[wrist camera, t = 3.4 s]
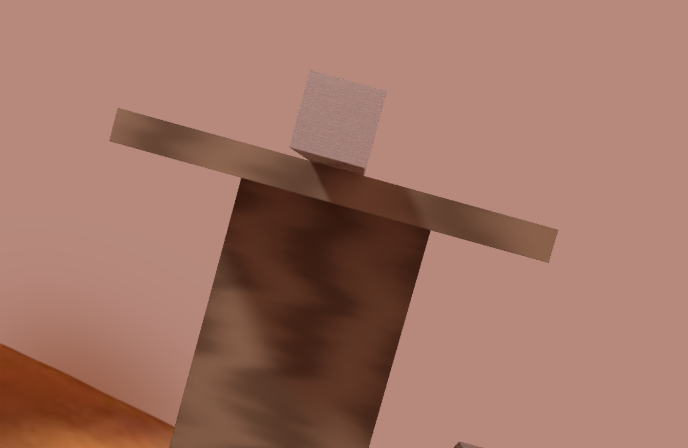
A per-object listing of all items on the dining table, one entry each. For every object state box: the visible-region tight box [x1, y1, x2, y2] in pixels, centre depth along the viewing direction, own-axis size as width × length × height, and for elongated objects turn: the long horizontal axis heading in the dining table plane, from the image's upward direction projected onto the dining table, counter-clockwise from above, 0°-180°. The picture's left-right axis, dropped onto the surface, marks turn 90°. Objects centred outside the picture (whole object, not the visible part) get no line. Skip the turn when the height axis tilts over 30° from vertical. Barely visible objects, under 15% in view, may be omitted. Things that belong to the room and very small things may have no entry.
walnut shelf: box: [110, 108, 558, 448], centre depth 36 cm, size 20×15×26 cm
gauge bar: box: [289, 70, 386, 176], centre depth 30 cm, size 2×22×2 cm, turn 178°
